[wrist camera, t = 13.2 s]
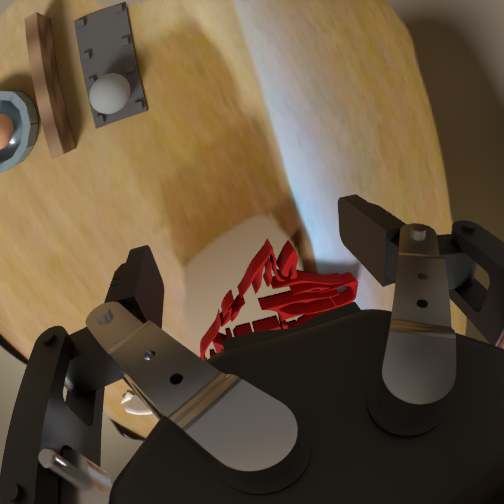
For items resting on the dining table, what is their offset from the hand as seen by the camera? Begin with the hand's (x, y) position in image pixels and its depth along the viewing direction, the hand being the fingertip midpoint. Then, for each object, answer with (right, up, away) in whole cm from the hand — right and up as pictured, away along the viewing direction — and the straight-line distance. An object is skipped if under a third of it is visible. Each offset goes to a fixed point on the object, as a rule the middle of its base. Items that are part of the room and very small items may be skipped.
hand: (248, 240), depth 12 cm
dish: (-33, +17, +16) cm, 41 cm away
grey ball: (-16, +18, +16) cm, 29 cm away
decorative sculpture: (+3, -12, +40) cm, 42 cm away
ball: (-33, +15, +14) cm, 39 cm away
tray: (-18, +23, +16) cm, 33 cm away
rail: (-25, +21, +15) cm, 37 cm away
